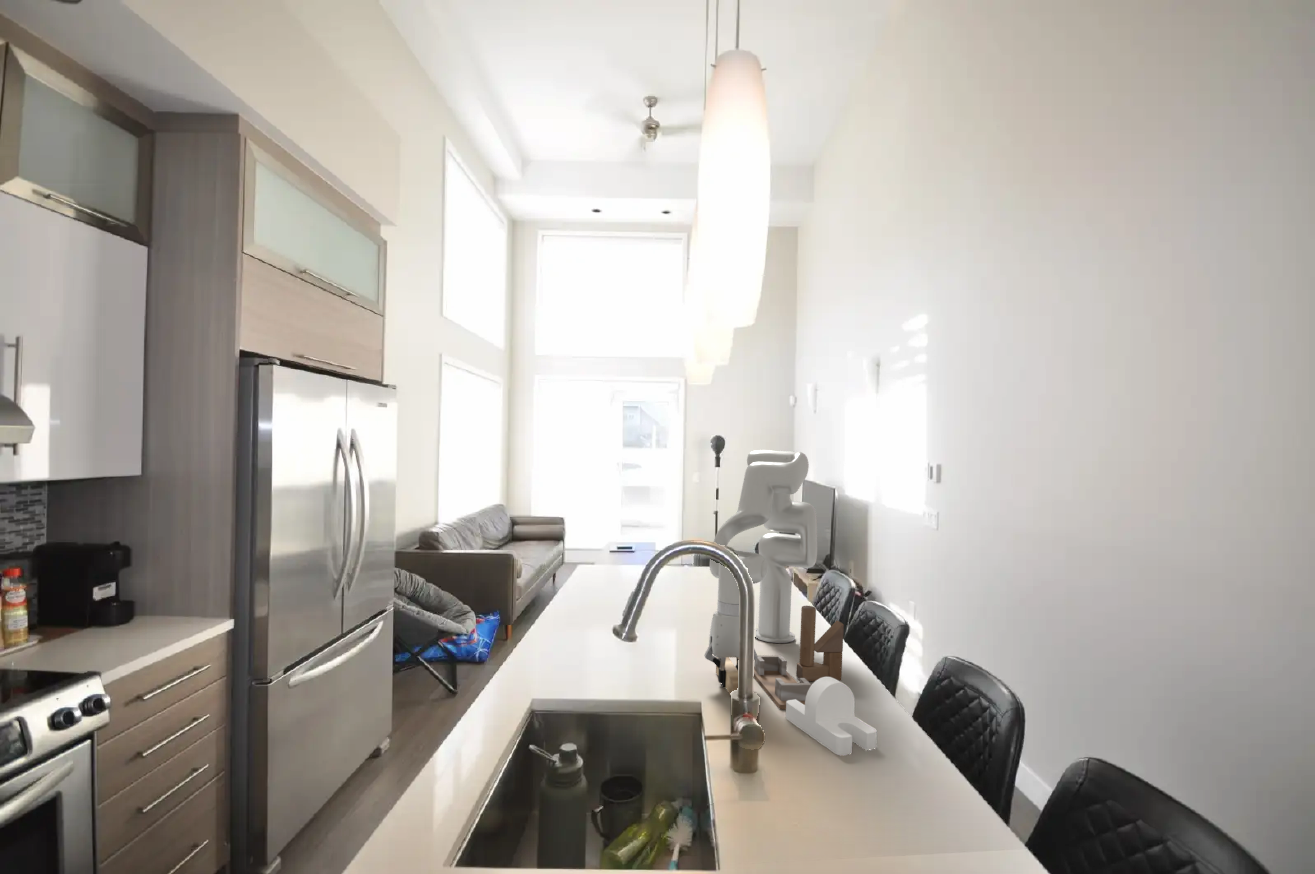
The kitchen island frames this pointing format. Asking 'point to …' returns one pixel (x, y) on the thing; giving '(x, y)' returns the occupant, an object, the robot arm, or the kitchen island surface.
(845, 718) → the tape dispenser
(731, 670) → the oak slat
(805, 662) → the wooden block
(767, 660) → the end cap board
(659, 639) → the kitchen island surface
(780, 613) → the robot arm
